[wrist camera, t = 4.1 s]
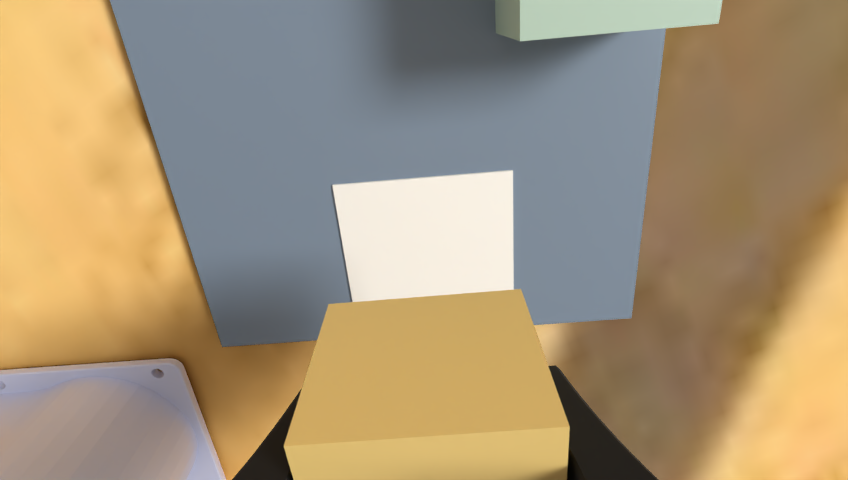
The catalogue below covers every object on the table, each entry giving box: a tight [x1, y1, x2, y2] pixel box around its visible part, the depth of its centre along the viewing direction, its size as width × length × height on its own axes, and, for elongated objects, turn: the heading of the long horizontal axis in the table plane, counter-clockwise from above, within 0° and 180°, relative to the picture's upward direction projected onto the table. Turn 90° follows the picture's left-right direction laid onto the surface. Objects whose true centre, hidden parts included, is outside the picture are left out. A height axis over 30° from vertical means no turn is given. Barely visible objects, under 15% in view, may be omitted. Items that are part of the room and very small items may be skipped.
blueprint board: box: [110, 0, 666, 347], centre depth 17 cm, size 17×17×1 cm
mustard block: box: [284, 289, 570, 480], centre depth 11 cm, size 5×5×4 cm
